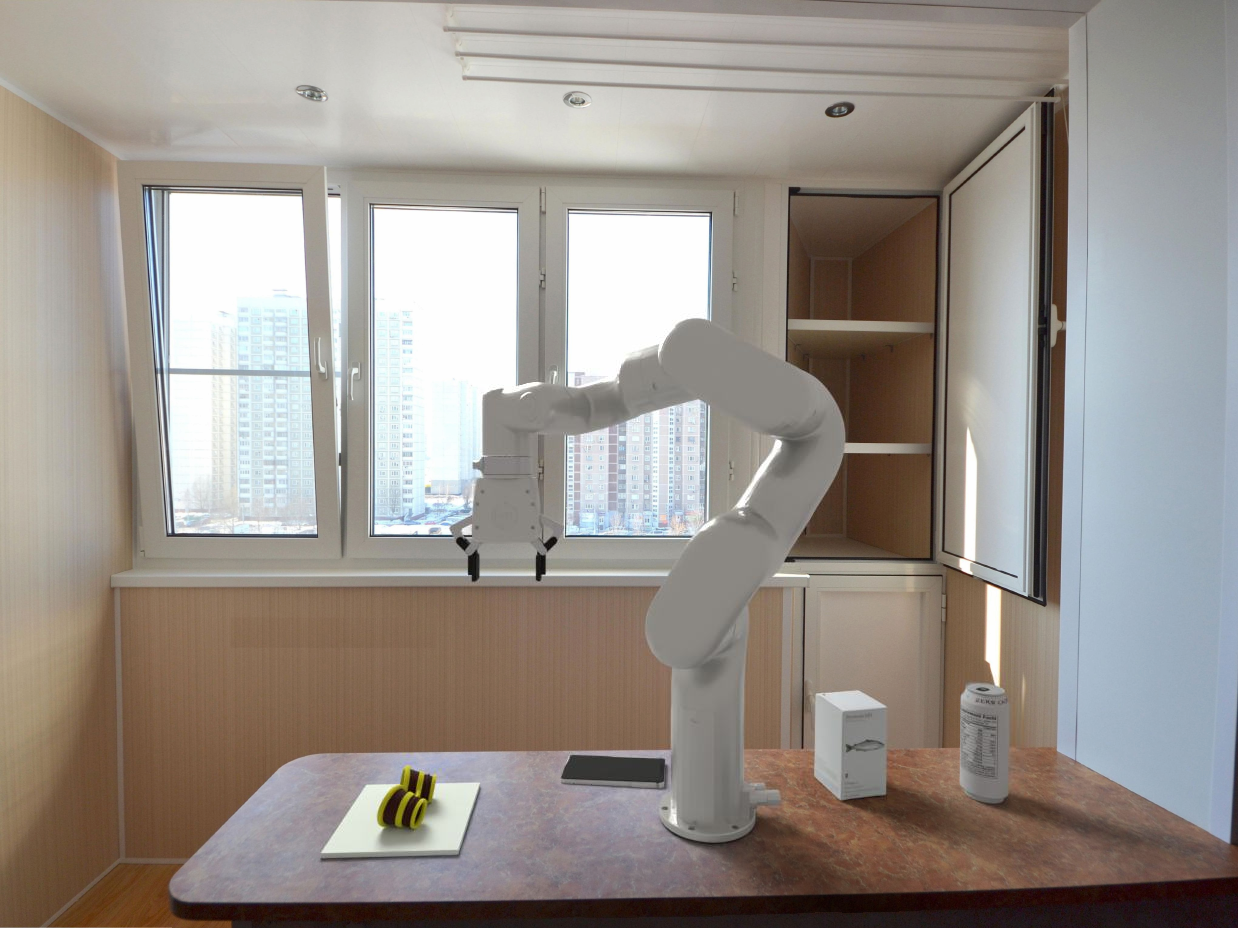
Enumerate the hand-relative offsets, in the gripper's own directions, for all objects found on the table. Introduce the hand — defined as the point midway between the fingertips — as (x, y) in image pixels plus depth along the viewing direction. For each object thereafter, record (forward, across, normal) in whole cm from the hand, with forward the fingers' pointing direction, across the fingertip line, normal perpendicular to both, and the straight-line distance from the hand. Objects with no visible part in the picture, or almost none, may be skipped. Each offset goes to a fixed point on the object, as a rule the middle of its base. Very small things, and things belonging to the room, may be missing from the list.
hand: (507, 579), depth 101 cm
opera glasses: (+28, -11, -15) cm, 33 cm away
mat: (+28, -11, -15) cm, 34 cm away
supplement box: (+29, +50, -9) cm, 58 cm away
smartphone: (+29, +16, -4) cm, 33 cm away
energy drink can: (+28, +68, -12) cm, 75 cm away
